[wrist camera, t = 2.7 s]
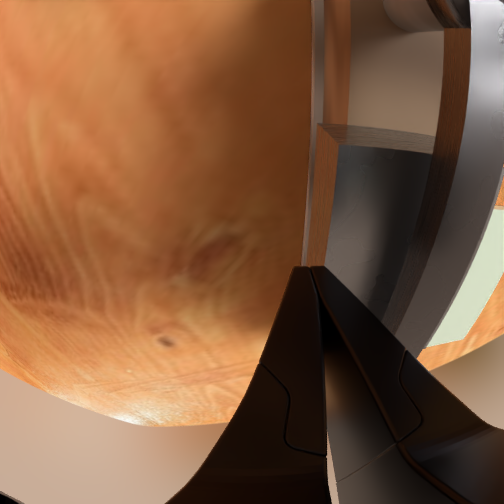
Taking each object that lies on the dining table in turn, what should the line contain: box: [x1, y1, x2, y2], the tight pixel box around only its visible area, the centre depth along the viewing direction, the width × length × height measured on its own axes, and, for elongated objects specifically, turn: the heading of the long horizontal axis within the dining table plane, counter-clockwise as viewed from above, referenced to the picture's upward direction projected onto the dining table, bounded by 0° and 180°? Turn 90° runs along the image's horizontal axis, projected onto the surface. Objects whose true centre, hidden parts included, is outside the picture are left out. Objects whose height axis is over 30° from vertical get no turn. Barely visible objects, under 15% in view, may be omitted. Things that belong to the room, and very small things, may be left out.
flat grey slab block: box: [306, 123, 504, 349], centre depth 10 cm, size 6×9×2 cm, turn 1°
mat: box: [427, 205, 504, 347], centre depth 18 cm, size 12×14×1 cm
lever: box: [381, 0, 504, 358], centre depth 7 cm, size 16×3×2 cm, turn 1°
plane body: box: [301, 0, 444, 266], centre depth 11 cm, size 21×5×7 cm, turn 1°
